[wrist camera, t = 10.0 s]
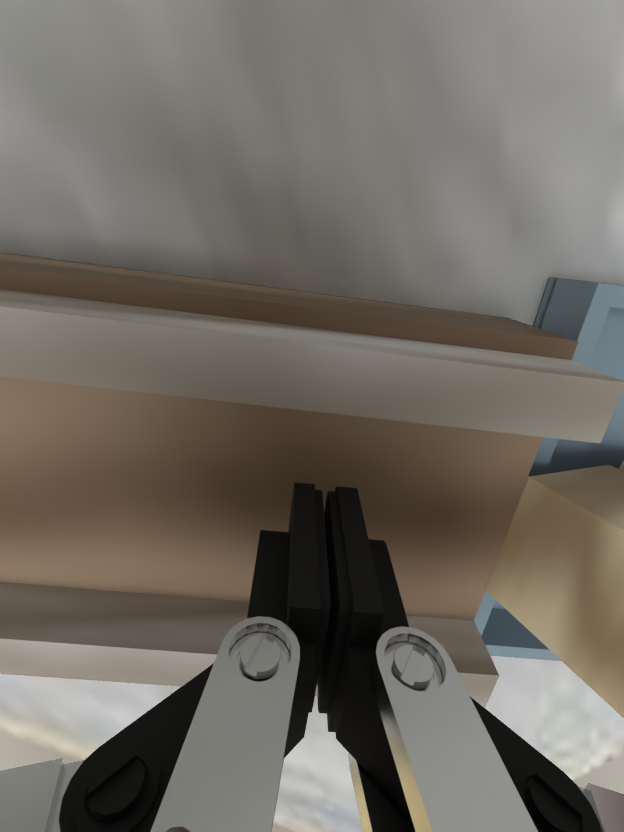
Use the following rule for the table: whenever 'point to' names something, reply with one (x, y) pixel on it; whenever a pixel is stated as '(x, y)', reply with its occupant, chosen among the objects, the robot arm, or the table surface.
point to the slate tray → (603, 351)
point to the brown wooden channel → (251, 456)
